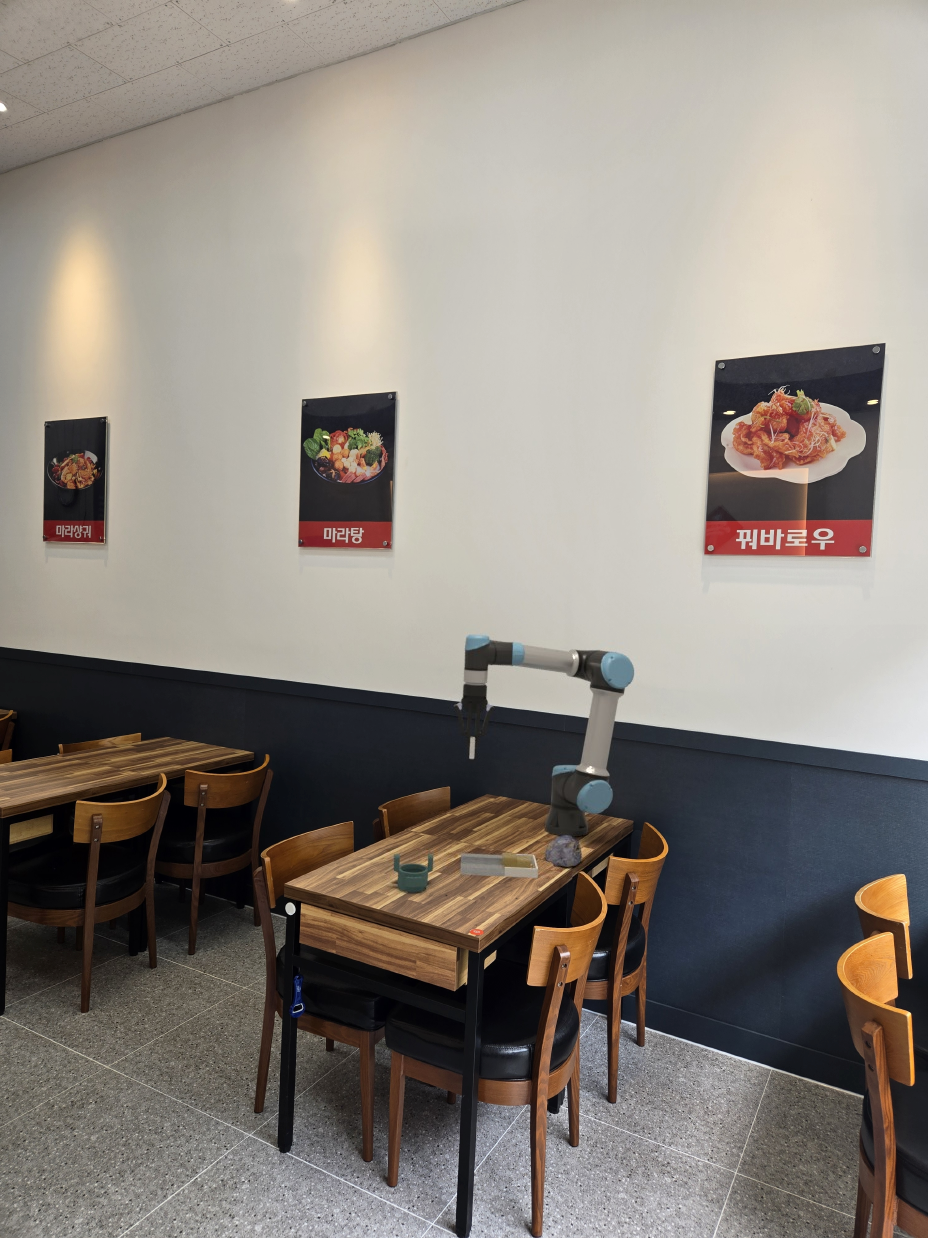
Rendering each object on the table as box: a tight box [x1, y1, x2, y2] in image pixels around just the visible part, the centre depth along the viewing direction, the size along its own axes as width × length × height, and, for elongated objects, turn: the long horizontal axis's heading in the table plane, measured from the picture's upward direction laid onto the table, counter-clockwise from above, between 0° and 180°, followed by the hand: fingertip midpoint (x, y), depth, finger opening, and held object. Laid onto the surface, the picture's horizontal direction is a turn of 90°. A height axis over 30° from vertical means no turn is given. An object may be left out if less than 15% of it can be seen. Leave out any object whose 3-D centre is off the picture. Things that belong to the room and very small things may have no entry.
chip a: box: [516, 856, 531, 868], centre depth 228 cm, size 4×4×4 cm
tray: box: [503, 853, 539, 879], centre depth 228 cm, size 10×13×4 cm
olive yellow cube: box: [501, 852, 517, 868], centre depth 228 cm, size 4×4×4 cm
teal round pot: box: [393, 853, 434, 894], centre depth 212 cm, size 9×9×9 cm
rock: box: [544, 835, 583, 867], centre depth 239 cm, size 11×10×10 cm
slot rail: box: [460, 852, 505, 877], centre depth 228 cm, size 12×13×3 cm
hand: (471, 758), depth 247 cm, fingers closed
